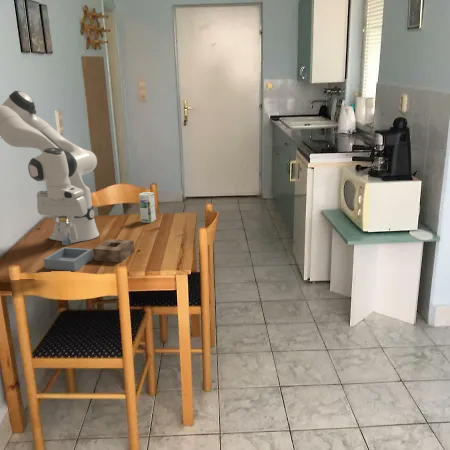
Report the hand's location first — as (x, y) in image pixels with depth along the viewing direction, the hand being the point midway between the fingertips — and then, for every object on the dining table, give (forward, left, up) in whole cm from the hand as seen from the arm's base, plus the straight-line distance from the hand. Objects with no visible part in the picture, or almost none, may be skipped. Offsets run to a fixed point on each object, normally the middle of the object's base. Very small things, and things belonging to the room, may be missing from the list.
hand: (64, 226), depth 191 cm
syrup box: (+7, +59, -16) cm, 62 cm away
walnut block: (+14, +11, -16) cm, 24 cm away
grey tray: (0, 0, -16) cm, 16 cm away
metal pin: (0, 0, -7) cm, 7 cm away
